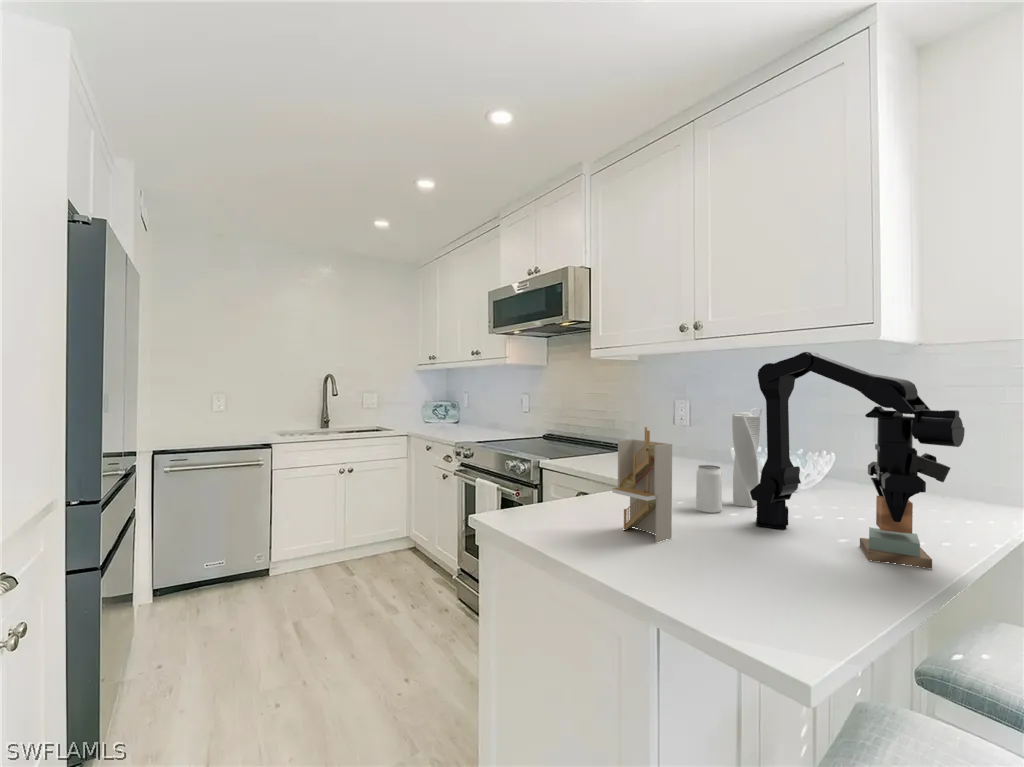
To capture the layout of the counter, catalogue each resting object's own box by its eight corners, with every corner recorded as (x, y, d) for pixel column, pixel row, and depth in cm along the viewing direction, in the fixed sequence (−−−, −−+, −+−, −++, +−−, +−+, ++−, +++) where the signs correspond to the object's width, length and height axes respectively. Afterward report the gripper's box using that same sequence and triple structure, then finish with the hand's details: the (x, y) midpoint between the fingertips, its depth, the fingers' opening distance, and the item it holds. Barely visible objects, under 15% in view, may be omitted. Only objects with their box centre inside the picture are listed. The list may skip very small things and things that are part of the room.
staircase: (630, 528, 123) (631, 423, 123) (671, 540, 114) (672, 427, 114) (608, 534, 119) (609, 425, 119) (649, 547, 110) (650, 429, 109)
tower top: (869, 548, 102) (869, 536, 102) (869, 538, 109) (869, 527, 109) (919, 557, 98) (920, 544, 98) (916, 546, 104) (916, 533, 104)
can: (725, 513, 136) (725, 468, 136) (701, 513, 136) (701, 468, 136) (716, 507, 142) (716, 464, 142) (692, 507, 143) (693, 464, 142)
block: (881, 530, 102) (881, 500, 102) (876, 524, 106) (876, 495, 106) (912, 533, 100) (912, 503, 100) (905, 527, 104) (906, 498, 104)
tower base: (868, 564, 101) (868, 551, 101) (859, 549, 110) (859, 537, 110) (932, 572, 96) (932, 559, 96) (917, 556, 105) (917, 544, 105)
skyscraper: (764, 504, 147) (764, 406, 146) (758, 509, 141) (759, 408, 140) (734, 500, 151) (735, 406, 151) (728, 505, 145) (729, 407, 145)
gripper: (962, 449, 91) (961, 536, 91) (931, 438, 108) (930, 512, 108) (886, 445, 96) (885, 528, 96) (867, 435, 113) (866, 506, 113)
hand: (893, 518), depth 103 cm, fingers open, 5 cm apart
